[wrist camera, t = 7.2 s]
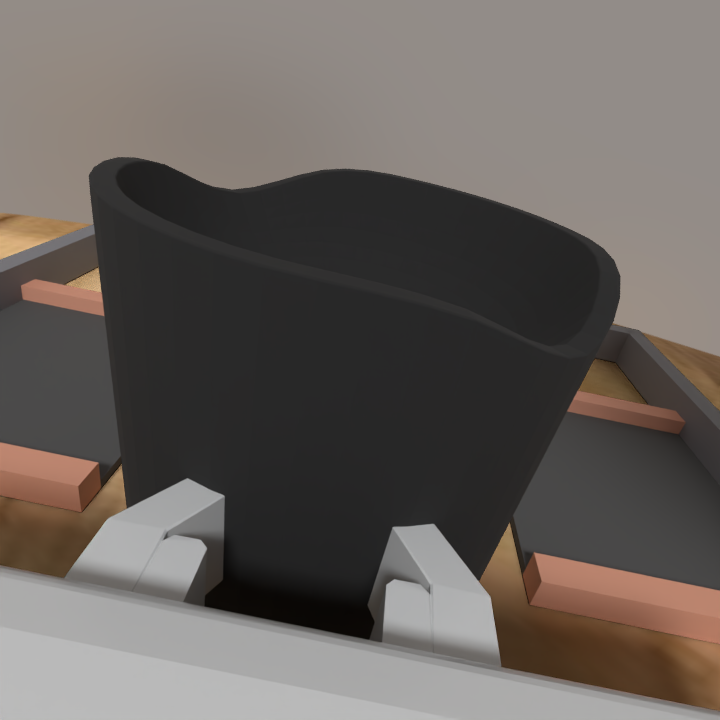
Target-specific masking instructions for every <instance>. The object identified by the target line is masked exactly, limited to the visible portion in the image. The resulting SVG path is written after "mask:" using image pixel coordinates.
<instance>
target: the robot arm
mask: <svg viewBox="0 0 720 720" xmlns="http://www.w3.org/2000/svg"><path fill="white" fill-rule="evenodd" d="M224 504H225V496H224V495H222V494H219V493H217V492H214V491H212V490H209V489H208V488H206V487H204V486H202V485H200V484H198V483H196V482H194V481H192V480H190V479H188V478H187V479H185V480H183V481H181V482H179V483H177V484H175V485H173V486H171V487H169V488H167V489H165V490H163V491H161V492H159V493H157V494H155V495H153V496H151V497H149V498H147V499H145V500H143V501H141V502H139V503H137V504H135V505H133V506H132V507H130V508H128V509H126V510H124V511H122V512H120V513H118V514H116V515H114V516H112V517H110V518H108V519H107V520H106V522H105V523H104V524H103V526H102V527H101V528H100V530H99V531H98V532H97V534H96V535H95V536H94V538H93V539H92V540H91V542H90V543H89V545H88V546H87V547H86V549H85V550H84V551H83V553H82V554H81V555H80V557H79V558H78V559H77V561H76V562H75V563H74V565H73V566H72V568H71V569H70V570H69V572H68V573H67V574H66V576H65V577H64V578H61V577H56V576H51V575H46V574H41V573H37V572H32V571H27V570H22V569H17V568H12V567H7V566H2V565H0V720H720V711H717V710H712V709H707V708H702V707H697V706H692V705H687V704H683V703H678V702H673V701H668V700H663V699H658V698H653V697H648V696H643V695H638V694H633V693H628V692H623V691H618V690H613V689H609V688H604V687H599V686H594V685H589V684H584V683H579V682H574V681H569V680H564V679H559V678H554V677H549V676H544V675H539V674H534V673H529V672H524V671H519V670H515V669H510V668H505V667H501V660H500V654H499V648H498V641H497V635H496V629H495V622H494V616H493V609H492V603H491V597H490V596H489V594H488V593H487V592H486V590H485V589H484V588H483V587H482V585H481V584H480V583H479V581H478V580H477V579H476V578H475V576H474V575H473V574H472V572H471V571H470V570H469V568H468V567H467V566H466V565H465V563H464V562H463V561H462V559H461V558H460V557H459V556H458V554H457V553H456V552H455V550H454V549H453V548H452V546H451V545H450V544H449V543H448V541H447V540H446V539H445V537H444V536H443V535H442V534H441V532H440V531H439V530H438V528H437V527H436V526H435V524H426V525H417V526H409V527H393V528H392V531H391V534H390V537H389V540H388V543H387V546H386V549H385V552H384V555H383V558H382V562H381V565H380V568H379V571H378V574H377V577H376V580H375V583H374V586H373V590H372V593H371V596H370V599H369V602H368V607H369V610H370V612H371V614H372V617H373V619H374V621H375V623H374V626H373V630H372V633H371V636H370V639H369V640H367V639H362V638H357V637H352V636H348V635H343V634H338V633H333V632H328V631H323V630H318V629H313V628H308V627H303V626H298V625H293V624H288V623H283V622H278V621H273V620H269V619H264V618H259V617H254V616H249V615H244V614H239V613H234V612H229V611H224V610H219V609H214V608H209V607H204V605H205V595H206V594H207V593H208V592H209V591H211V590H212V589H213V588H214V587H215V586H216V585H217V584H219V583H220V582H221V581H222V580H223V554H224Z"/></svg>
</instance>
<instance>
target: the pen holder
mask: <svg viewBox="0 0 720 720" xmlns="http://www.w3.org/2000/svg"><path fill="white" fill-rule="evenodd" d="M89 182H90V195H91V203H92V213H93V222H94V231H95V239H96V248H97V256H98V265H99V273H100V282H101V291H102V299H103V308H104V316H105V325H106V333H107V342H108V351H109V359H110V368H111V376H112V385H113V393H114V402H115V411H116V419H117V428H118V436H119V445H120V453H121V462H122V471H123V479H124V488H125V496H126V505H127V509H128V508H130V507H132V506H133V505H135V504H137V503H139V502H141V501H143V500H145V499H147V498H149V497H151V496H153V495H155V494H157V493H159V492H161V491H163V490H165V489H167V488H169V487H171V486H173V485H175V484H177V483H179V482H181V481H183V480H185V479H187V478H188V479H190V480H192V481H194V482H196V483H198V484H200V485H202V486H204V487H206V488H208V489H209V490H212V491H214V492H217V493H219V494H222V495H224V496H225V504H224V554H223V580H222V581H221V582H220V583H219V584H217V585H216V586H215V587H214V588H213V589H212V590H211V591H209V592H208V593H207V594H206V595H205V605H204V607H209V608H214V609H219V610H224V611H229V612H234V613H239V614H244V615H249V616H254V617H259V618H264V619H269V620H273V621H278V622H283V623H288V624H293V625H298V626H303V627H308V628H313V629H318V630H323V631H328V632H333V633H338V634H343V635H348V636H352V637H357V638H362V639H367V640H369V639H370V636H371V633H372V630H373V626H374V623H375V621H374V619H373V617H372V614H371V612H370V610H369V607H368V602H369V599H370V596H371V593H372V590H373V586H374V583H375V580H376V577H377V574H378V571H379V568H380V565H381V562H382V558H383V555H384V552H385V549H386V546H387V543H388V540H389V537H390V534H391V531H392V528H393V527H409V526H417V525H426V524H435V526H436V527H437V528H438V530H439V531H440V532H441V534H442V535H443V536H444V537H445V539H446V540H447V541H448V543H449V544H450V545H451V546H452V548H453V549H454V550H455V552H456V553H457V554H458V556H459V557H460V558H461V559H462V561H463V562H464V563H465V565H466V566H467V567H468V568H469V570H470V571H471V572H472V574H473V575H474V576H475V578H476V579H477V580H478V581H479V580H480V578H481V576H482V574H483V573H484V571H485V569H486V567H487V565H488V563H489V561H490V559H491V557H492V555H493V553H494V551H495V549H496V548H497V546H498V544H499V542H500V540H501V538H502V536H503V534H504V532H505V530H506V528H507V526H508V524H509V522H510V521H511V519H512V517H513V515H514V513H515V511H516V509H517V507H518V505H519V503H520V501H521V499H522V497H523V495H524V494H525V492H526V490H527V488H528V486H529V484H530V482H531V480H532V478H533V476H534V474H535V472H536V470H537V468H538V467H539V465H540V463H541V461H542V459H543V457H544V455H545V453H546V451H547V449H548V447H549V445H550V443H551V441H552V439H553V438H554V436H555V434H556V432H557V430H558V428H559V426H560V424H561V422H562V420H563V418H564V416H565V414H566V412H567V410H568V409H569V407H570V405H571V403H572V401H573V399H574V397H575V395H576V393H577V391H578V389H579V387H580V385H581V383H582V381H583V380H584V378H585V376H586V374H587V372H588V370H589V368H590V366H591V364H592V362H593V360H594V358H595V356H596V354H597V352H598V351H599V349H600V347H601V345H602V343H603V341H604V339H605V337H606V335H607V333H608V331H609V329H610V327H611V325H612V323H613V321H614V317H615V313H616V310H617V306H618V303H619V299H620V274H619V272H618V269H617V267H616V264H615V262H614V260H613V259H612V258H611V256H610V255H609V254H608V253H607V252H606V251H605V250H604V249H603V248H602V247H601V246H599V245H597V244H596V243H595V242H593V241H592V240H590V239H588V238H587V237H585V236H583V235H581V234H578V233H577V232H575V231H572V230H570V229H568V228H566V227H563V226H561V225H559V224H557V223H554V222H551V221H549V220H547V219H544V218H542V217H539V216H537V215H534V214H531V213H528V212H525V211H523V210H520V209H517V208H514V207H511V206H508V205H505V204H502V203H498V202H496V201H492V200H489V199H486V198H483V197H479V196H476V195H472V194H469V193H465V192H462V191H458V190H455V189H450V188H446V187H443V186H439V185H435V184H431V183H427V182H423V181H419V180H414V179H410V178H405V177H401V176H396V175H392V174H386V173H380V172H374V171H368V170H355V169H332V170H320V171H315V172H311V173H307V174H301V175H297V176H294V177H291V178H287V179H284V180H280V181H277V182H272V183H269V184H265V185H261V186H257V187H252V188H243V189H236V190H231V189H225V188H218V187H212V186H210V185H207V184H204V183H202V182H200V181H198V180H196V179H193V178H191V177H189V176H187V175H186V174H183V173H181V172H179V171H177V170H175V169H173V168H171V167H169V166H167V165H165V164H160V163H157V162H153V161H149V160H144V159H139V158H129V157H127V158H125V157H121V158H120V157H118V158H114V159H110V160H106V161H103V162H102V163H100V164H98V165H97V166H95V167H94V168H93V170H92V172H91V173H90V174H89Z"/></svg>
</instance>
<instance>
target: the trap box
mask: <svg viewBox="0 0 720 720" xmlns="http://www.w3.org/2000/svg"><path fill="white" fill-rule="evenodd" d="M98 266H99V265H98V256H97V248H96V239H95V231H94V224H93V225H90V226H88V227H85V228H82V229H80V230H77V231H75V232H72V233H69V234H67V235H64V236H61V237H59V238H56V239H53V240H51V241H48V242H46V243H43V244H40V245H38V246H35V247H32V248H30V249H27V250H24V251H22V252H19V253H17V254H14V255H11V256H9V257H6V258H3V259H1V260H0V496H5V497H10V498H14V499H19V500H24V501H29V502H34V503H39V504H43V505H48V506H53V507H58V508H63V509H68V510H73V511H77V512H82V511H83V510H84V508H85V507H86V506H87V505H88V504H89V502H90V501H91V500H92V499H93V497H94V496H95V495H96V494H97V492H98V491H99V490H100V489H101V487H102V486H103V485H104V484H105V483H106V481H107V480H108V479H109V478H110V476H111V475H112V474H113V473H114V471H115V470H116V469H117V468H118V467H119V465H120V464H121V463H122V462H121V453H120V445H119V436H118V428H117V419H116V411H115V402H114V393H113V385H112V376H111V368H110V359H109V351H108V342H107V333H106V325H105V316H104V308H103V299H102V293H101V292H96V291H91V290H86V289H81V288H76V287H71V286H67V285H64V284H66V283H67V282H69V281H71V280H73V279H75V278H77V277H79V276H81V275H83V274H85V273H87V272H89V271H91V270H93V269H94V268H96V267H98ZM595 358H598V359H603V360H607V361H612V362H616V363H617V365H618V366H619V367H620V369H621V370H622V371H623V372H624V374H625V375H626V376H627V378H628V379H629V380H630V381H631V383H632V384H633V385H634V386H635V388H636V389H637V390H638V392H639V393H640V394H641V395H642V397H643V398H644V399H645V401H646V402H647V403H648V404H649V405H645V404H640V403H635V402H631V401H626V400H621V399H616V398H611V397H606V396H601V395H596V394H592V393H587V392H582V391H577V393H576V395H575V397H574V399H573V401H572V403H571V405H570V407H569V409H568V410H567V412H566V414H565V416H564V418H563V420H562V422H561V424H560V426H559V428H558V430H557V432H556V434H555V436H554V438H553V439H552V441H551V443H550V445H549V447H548V449H547V451H546V453H545V455H544V457H543V459H542V461H541V463H540V465H539V467H538V468H537V470H536V472H535V474H534V476H533V478H532V480H531V482H530V484H529V486H528V488H527V490H526V492H525V494H524V495H523V497H522V499H521V501H520V503H519V505H518V507H517V509H516V511H515V513H514V515H513V517H512V519H511V521H510V523H511V527H512V531H513V536H514V540H515V544H516V549H517V553H518V557H519V561H520V566H521V570H522V574H523V579H524V583H525V587H526V592H527V596H528V600H529V605H533V606H538V607H543V608H548V609H553V610H558V611H563V612H567V613H572V614H577V615H582V616H587V617H592V618H596V619H601V620H606V621H611V622H616V623H621V624H626V625H630V626H635V627H640V628H645V629H650V630H655V631H660V632H664V633H669V634H674V635H679V636H684V637H689V638H694V639H698V640H703V641H708V642H713V643H718V644H720V411H719V410H718V409H717V408H716V407H715V406H714V405H713V404H712V403H711V402H710V401H709V400H708V399H707V398H706V397H705V396H704V395H703V394H702V393H701V392H700V391H699V390H698V389H697V388H696V387H695V386H694V385H693V384H692V383H691V382H690V381H689V380H688V379H687V378H686V377H685V376H684V375H683V374H682V373H681V372H680V371H679V370H678V369H677V368H676V367H675V366H674V365H673V364H672V363H671V362H670V361H669V360H668V359H667V358H666V357H665V356H664V355H663V354H662V353H661V352H660V351H659V350H658V349H657V348H656V347H655V346H654V345H653V344H652V343H651V342H650V341H649V340H648V339H647V338H646V337H645V336H644V335H643V334H642V333H641V332H640V331H639V330H635V329H631V328H626V327H621V326H616V325H611V327H610V329H609V331H608V333H607V335H606V337H605V339H604V341H603V343H602V345H601V347H600V349H599V351H598V352H597V354H596V356H595Z"/></svg>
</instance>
